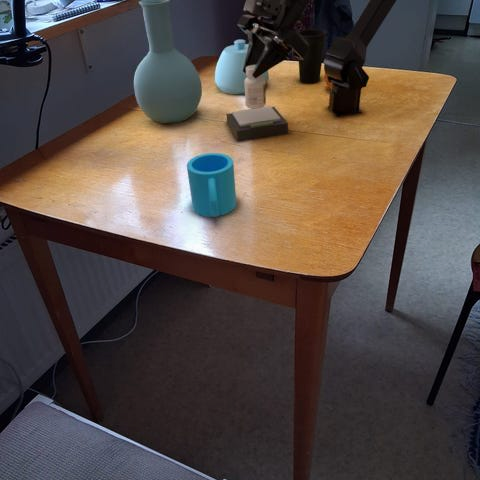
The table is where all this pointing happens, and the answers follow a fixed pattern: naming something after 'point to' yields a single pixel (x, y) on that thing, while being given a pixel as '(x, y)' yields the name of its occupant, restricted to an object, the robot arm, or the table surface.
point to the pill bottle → (254, 89)
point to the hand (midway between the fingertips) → (248, 74)
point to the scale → (256, 123)
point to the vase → (165, 71)
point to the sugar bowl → (233, 69)
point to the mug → (212, 184)
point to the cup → (312, 56)
